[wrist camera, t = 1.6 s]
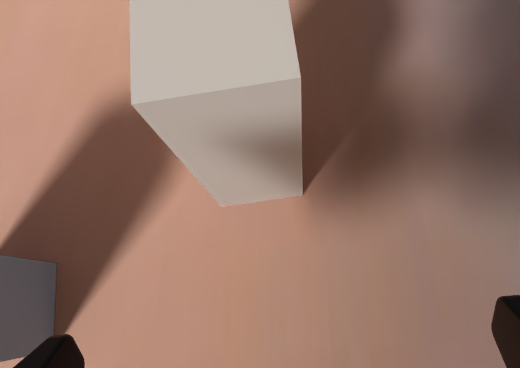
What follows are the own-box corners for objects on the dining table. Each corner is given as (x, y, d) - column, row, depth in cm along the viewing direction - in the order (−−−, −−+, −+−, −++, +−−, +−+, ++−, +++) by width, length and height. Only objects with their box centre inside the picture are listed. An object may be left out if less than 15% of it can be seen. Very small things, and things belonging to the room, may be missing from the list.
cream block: (302, 195, 23) (301, 77, 11) (221, 206, 24) (131, 104, 11) (291, 120, 25) (278, -58, 13) (214, 132, 25) (128, -30, 13)
